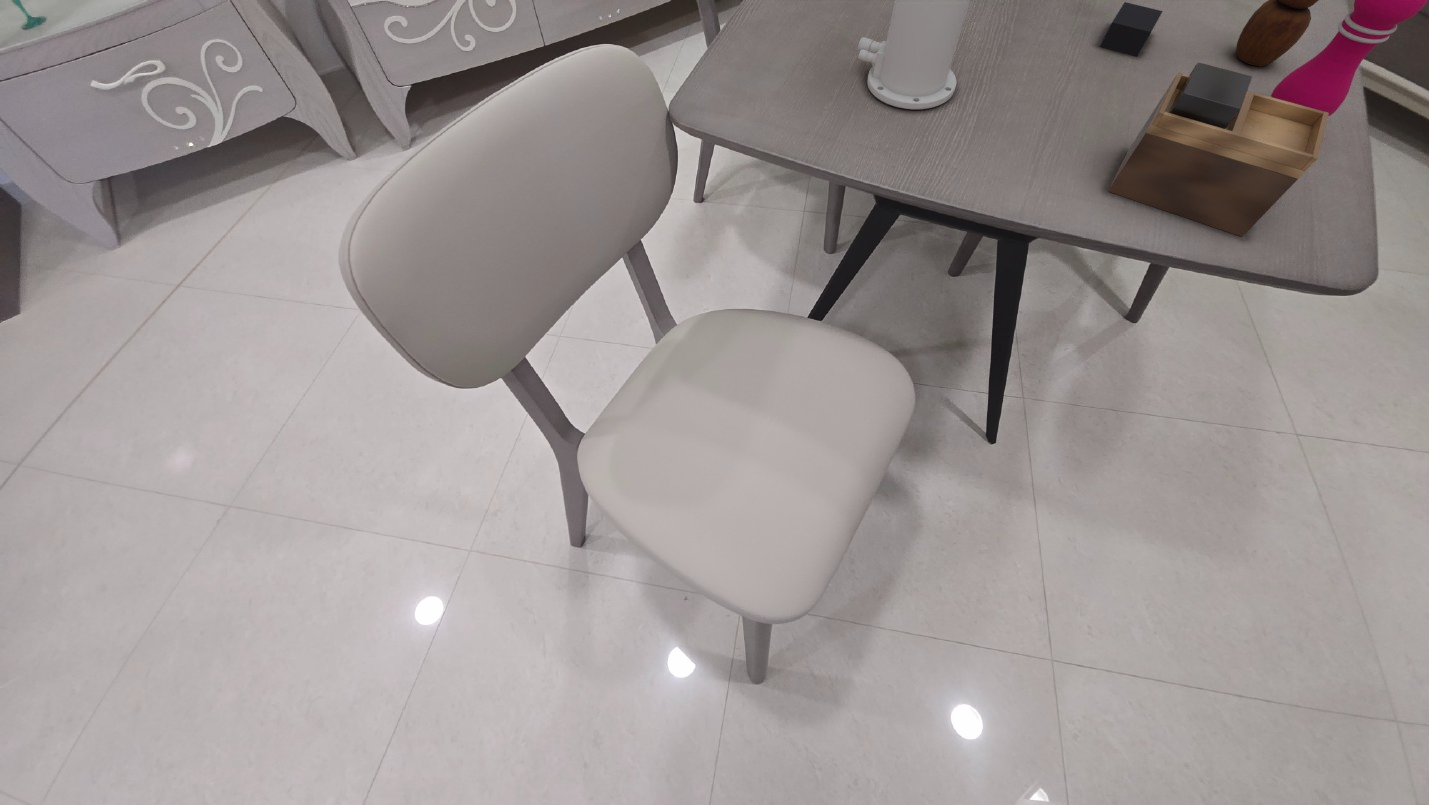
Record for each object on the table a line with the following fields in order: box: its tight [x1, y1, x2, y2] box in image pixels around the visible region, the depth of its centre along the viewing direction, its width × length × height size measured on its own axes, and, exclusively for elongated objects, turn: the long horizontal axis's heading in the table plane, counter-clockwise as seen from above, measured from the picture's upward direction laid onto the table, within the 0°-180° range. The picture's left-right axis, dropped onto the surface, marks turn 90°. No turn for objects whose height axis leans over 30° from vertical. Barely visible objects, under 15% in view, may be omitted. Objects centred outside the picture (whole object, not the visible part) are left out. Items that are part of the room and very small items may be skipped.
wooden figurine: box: [1235, 0, 1320, 67], centre depth 81 cm, size 7×6×15 cm
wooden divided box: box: [1107, 62, 1329, 237], centre depth 68 cm, size 15×9×12 cm, turn 56°
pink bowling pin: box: [1270, 0, 1429, 117], centre depth 70 cm, size 7×7×20 cm
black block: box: [1099, 1, 1164, 57], centre depth 90 cm, size 6×7×4 cm
